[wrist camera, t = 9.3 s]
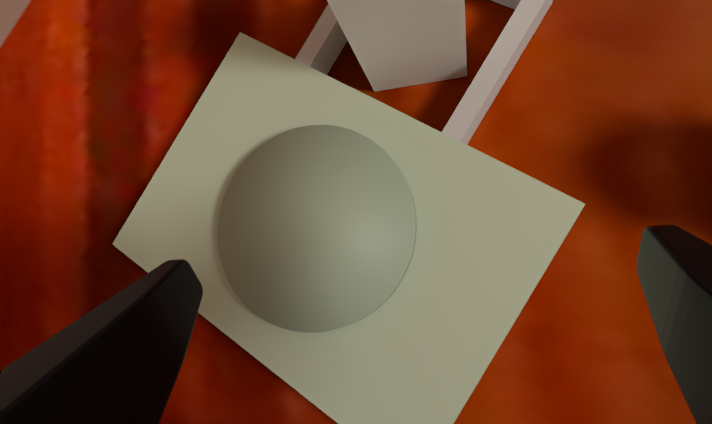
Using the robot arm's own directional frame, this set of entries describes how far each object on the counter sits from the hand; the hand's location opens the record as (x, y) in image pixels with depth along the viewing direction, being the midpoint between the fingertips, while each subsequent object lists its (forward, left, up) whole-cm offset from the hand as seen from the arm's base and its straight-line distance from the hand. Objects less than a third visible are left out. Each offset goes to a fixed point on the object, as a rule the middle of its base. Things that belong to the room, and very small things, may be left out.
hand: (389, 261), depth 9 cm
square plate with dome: (+3, +6, -14) cm, 15 cm away
